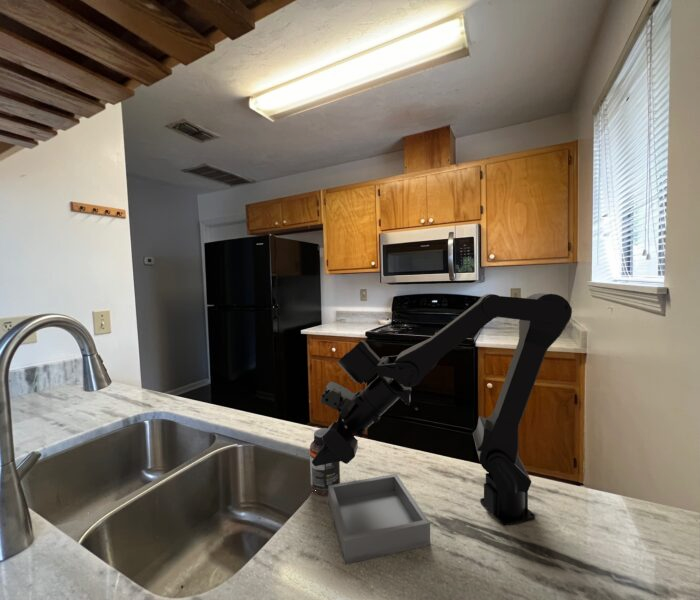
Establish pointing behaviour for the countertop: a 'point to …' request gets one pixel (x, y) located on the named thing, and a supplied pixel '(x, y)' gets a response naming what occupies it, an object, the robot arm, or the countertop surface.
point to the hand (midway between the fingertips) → (320, 451)
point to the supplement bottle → (322, 467)
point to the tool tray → (376, 518)
